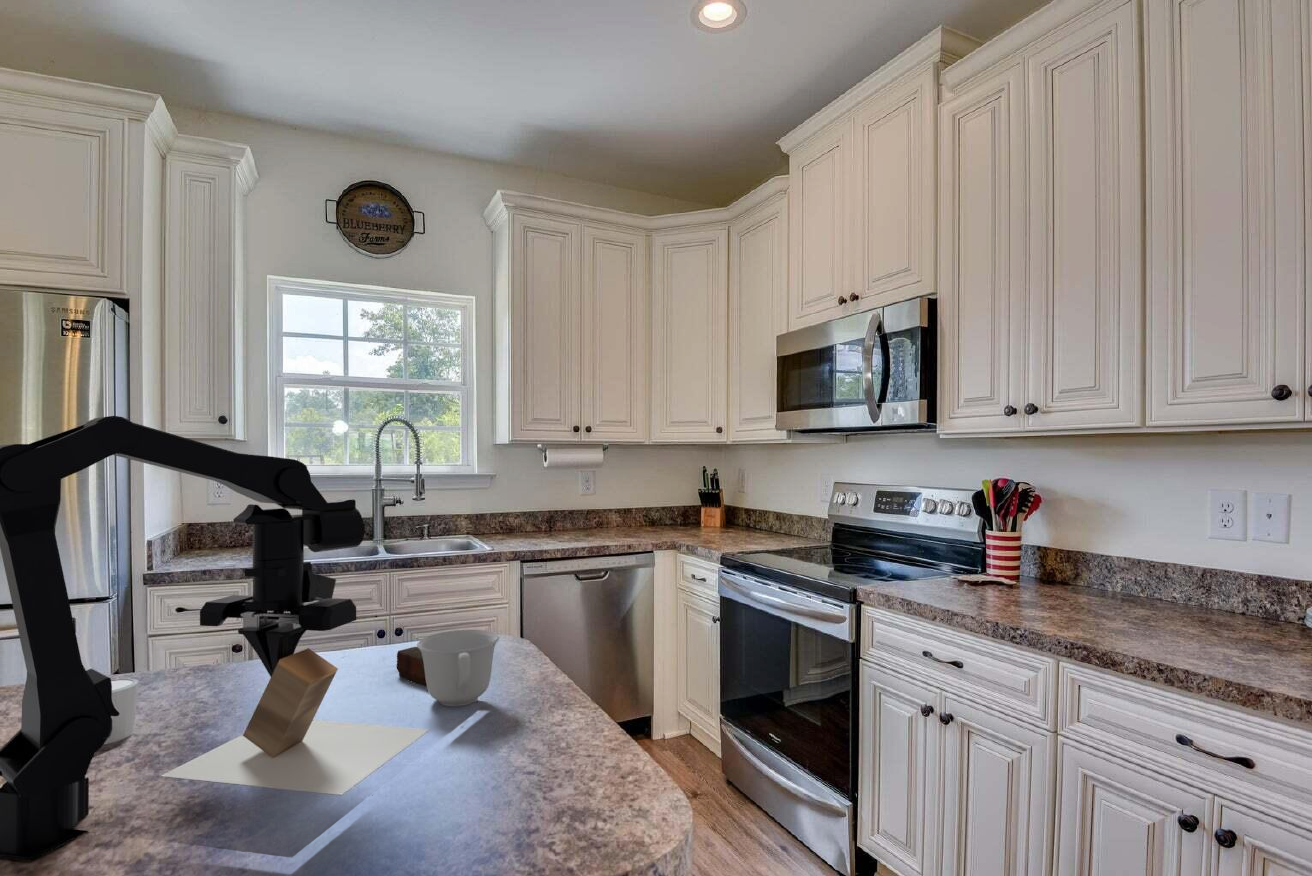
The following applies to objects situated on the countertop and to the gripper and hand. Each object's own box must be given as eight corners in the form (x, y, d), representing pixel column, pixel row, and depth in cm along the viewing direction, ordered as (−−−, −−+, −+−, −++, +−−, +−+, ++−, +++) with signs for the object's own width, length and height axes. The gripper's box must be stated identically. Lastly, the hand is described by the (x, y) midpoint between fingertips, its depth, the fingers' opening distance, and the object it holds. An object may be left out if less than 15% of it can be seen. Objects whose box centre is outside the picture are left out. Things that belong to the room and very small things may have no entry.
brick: (395, 678, 117) (395, 650, 117) (416, 672, 120) (416, 645, 120) (431, 691, 110) (431, 662, 110) (452, 684, 113) (452, 656, 114)
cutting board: (341, 804, 74) (341, 794, 74) (160, 784, 79) (160, 776, 79) (430, 736, 92) (430, 729, 92) (277, 724, 97) (277, 717, 97)
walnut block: (273, 758, 83) (310, 681, 83) (242, 735, 84) (279, 659, 84) (302, 741, 88) (338, 668, 87) (273, 720, 89) (308, 648, 88)
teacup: (420, 734, 92) (419, 660, 93) (415, 698, 106) (414, 634, 106) (509, 720, 97) (508, 649, 97) (493, 688, 111) (493, 626, 111)
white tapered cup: (102, 749, 89) (103, 695, 89) (60, 746, 90) (61, 692, 90) (151, 729, 96) (151, 678, 96) (111, 725, 97) (111, 676, 97)
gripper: (381, 549, 93) (382, 664, 92) (264, 547, 97) (264, 658, 96) (326, 562, 82) (326, 692, 82) (196, 559, 86) (196, 684, 85)
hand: (278, 680), depth 86 cm, fingers closed
